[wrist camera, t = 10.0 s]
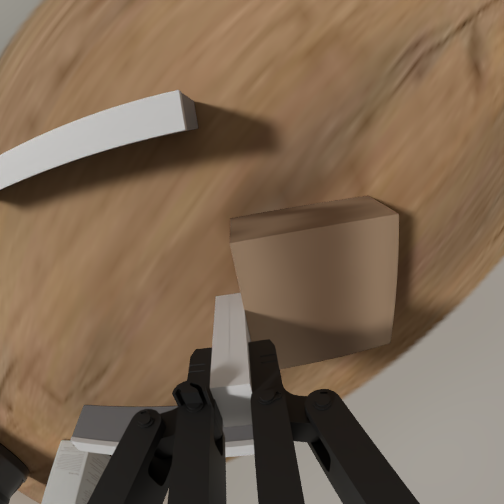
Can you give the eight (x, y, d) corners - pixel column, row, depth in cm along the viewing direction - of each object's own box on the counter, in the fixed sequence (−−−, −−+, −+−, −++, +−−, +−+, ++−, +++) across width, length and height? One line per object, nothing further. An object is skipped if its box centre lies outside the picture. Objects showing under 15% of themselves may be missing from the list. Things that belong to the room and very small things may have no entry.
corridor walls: (91, 414, 23) (79, 450, 19) (-19, 176, 14) (-62, 193, 10) (255, 410, 23) (260, 453, 19) (193, 100, 14) (178, 89, 10)
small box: (60, 438, 26) (38, 506, 16) (93, 439, 25) (72, 516, 16) (98, 470, 29) (84, 531, 19) (131, 471, 28) (120, 539, 19)
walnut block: (254, 330, 20) (258, 372, 16) (230, 216, 17) (229, 243, 13) (367, 307, 20) (390, 343, 16) (366, 194, 17) (398, 213, 13)
